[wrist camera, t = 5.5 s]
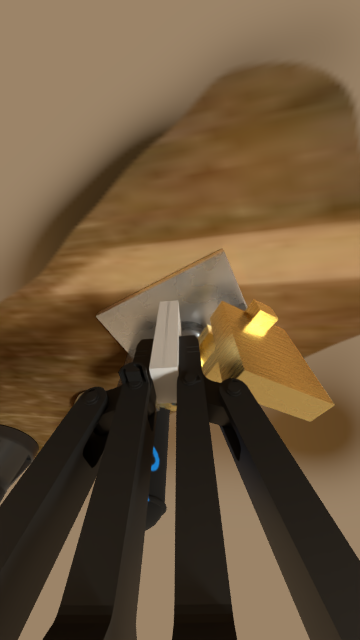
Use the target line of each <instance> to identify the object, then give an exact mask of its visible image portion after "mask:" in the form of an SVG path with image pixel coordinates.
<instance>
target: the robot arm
mask: <svg viewBox="0 0 360 640" xmlns="http://www.w3.org/2000/svg"><path fill="white" fill-rule="evenodd" d="M118 373H119V376H120V378H121V381H122V385H120V386H119V387H116V388H114V389H111V390H108V391H105V390H104V388H101V387H93V388H90V389H88V390H86V391H85V392H84V393H83V394H82V395H81V396H80V397H79V398H78V400H77V401H76V402H75V404H74V405H73V407H72V408H71V409H70V411H69V412H68V413H67V415H66V416H65V418H64V419H63V420H62V422H61V423H60V424H59V426H58V427H57V429H56V430H55V431H54V433H53V434H52V435H51V437H50V438H49V440H48V441H47V442H46V444H45V445H44V446H43V448H42V449H41V451H40V452H39V453H38V455H37V456H36V454H37V452H38V450H39V447H38V444H37V443H36V442H35V440H33V439H32V438H31V437H30V436H28V435H27V434H25V433H23V432H21V431H18V430H16V429H13V428H10V427H6V426H2V425H0V502H1V500H2V499H3V497H4V495H5V493H6V492H7V490H8V488H9V487H10V486H11V485H12V484H13V483H14V482H15V480H16V479H17V478H18V477H19V476H20V475H21V474H22V473H23V472H24V470H25V469H26V468H27V467H28V466H29V465H30V466H29V467H28V468H27V470H26V471H25V473H24V474H23V475H22V477H21V478H20V479H19V481H18V482H17V484H16V485H15V486H14V488H13V489H12V490H11V492H10V493H9V495H8V496H7V497H6V499H5V500H4V502H3V503H2V504H1V506H0V640H18V638H19V636H20V634H21V632H22V630H23V628H24V625H25V623H26V621H27V619H28V617H29V615H30V613H31V611H32V609H33V607H34V605H35V603H36V601H37V599H38V596H39V594H40V592H41V590H42V588H43V586H44V584H45V582H46V580H47V578H48V576H49V574H50V572H51V570H52V568H53V565H54V563H55V561H56V559H57V557H58V555H59V553H60V551H61V549H62V547H63V545H64V542H65V541H66V539H67V536H68V534H69V532H70V530H71V528H72V526H73V524H74V522H75V520H76V518H77V516H78V513H79V512H80V510H81V507H82V505H83V503H84V501H85V499H86V497H87V495H88V493H89V491H90V489H91V487H92V485H93V483H94V481H95V484H94V487H93V491H92V494H91V498H90V502H89V505H88V508H87V512H86V516H85V519H84V523H83V526H82V530H81V533H80V537H79V540H78V544H77V548H76V551H75V555H74V558H73V562H72V565H71V569H70V572H69V576H68V579H67V583H66V587H65V590H64V594H63V597H62V601H61V604H60V607H59V610H58V613H57V616H56V618H55V621H54V623H53V625H52V626H51V628H50V629H49V631H48V632H47V634H46V635H45V637H44V638H43V640H137V636H136V613H137V603H138V594H139V584H140V574H141V564H142V554H143V543H144V533H145V525H146V515H147V505H148V495H149V485H150V476H151V466H152V456H153V446H154V436H155V426H156V416H157V411H156V399H157V404H161V403H177V413H176V414H177V415H176V512H175V514H176V515H175V605H174V627H173V636H172V640H237V637H236V631H235V625H234V619H233V612H232V604H231V596H230V589H229V580H228V572H227V564H226V555H225V547H224V539H223V531H222V523H221V515H220V508H219V507H220V506H219V498H218V491H217V482H216V474H215V466H214V459H213V450H212V442H211V433H210V425H209V422H210V423H214V424H218V425H219V426H220V428H221V430H222V432H223V435H224V437H225V440H226V442H227V445H228V447H229V449H230V452H231V454H232V456H233V458H234V461H235V463H236V466H237V468H238V471H239V473H240V475H241V478H242V480H243V482H244V485H245V487H246V489H247V492H248V494H249V497H250V499H251V501H252V504H253V506H254V508H255V510H256V513H257V515H258V517H259V520H260V523H261V525H262V527H263V530H264V532H265V534H266V537H267V539H268V541H269V544H270V546H271V549H272V551H273V553H274V556H275V558H276V560H277V563H278V565H279V567H280V570H281V572H282V575H283V577H284V579H285V582H286V584H287V586H288V589H289V591H290V593H291V596H292V598H293V601H294V603H295V605H296V607H297V610H298V612H299V615H300V617H301V619H302V622H303V624H304V627H305V629H306V631H307V634H308V636H309V638H310V640H360V560H359V559H358V557H357V556H356V554H355V553H354V551H353V550H352V548H351V547H350V545H349V543H348V542H347V540H346V539H345V537H344V536H343V534H342V532H341V531H340V529H339V528H338V526H337V525H336V523H335V522H334V520H333V518H332V517H331V516H330V514H329V513H328V511H327V509H326V508H325V506H324V504H323V503H322V501H321V500H320V498H319V497H318V495H317V494H316V492H315V491H314V489H313V487H312V486H311V484H310V483H309V481H308V480H307V478H306V477H305V475H304V474H303V472H302V470H301V469H300V467H299V466H298V464H297V463H296V461H295V459H294V458H293V456H292V455H291V453H290V452H289V450H288V449H287V447H286V445H285V444H284V442H283V441H282V439H281V438H280V436H279V435H278V433H277V431H276V430H275V428H274V427H273V425H272V424H271V422H270V421H269V419H268V417H267V416H266V415H265V413H264V411H263V410H262V408H261V407H260V405H259V404H258V402H257V400H256V399H255V397H254V396H253V394H252V393H251V391H250V390H249V388H248V386H247V385H246V384H245V383H244V382H243V381H241V380H239V379H235V378H229V379H226V380H224V381H222V383H219V382H215V381H212V380H210V379H208V378H207V377H205V376H204V374H203V372H202V366H201V357H200V349H199V340H198V339H197V338H196V336H195V335H189V336H181V322H180V313H179V303H178V300H176V301H164V302H160V304H159V310H158V316H157V323H156V329H155V335H154V339H142V340H141V341H140V342H139V343H138V344H137V347H136V352H135V355H134V359H133V362H131V363H128V364H126V365H124V366H123V367H122V368H121V369H120V371H119V372H118ZM35 456H36V457H35ZM34 458H35V459H34ZM32 461H33V462H32ZM96 476H97V477H96ZM95 478H96V480H95Z"/></svg>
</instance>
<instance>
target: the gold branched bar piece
mask: <svg viewBox="0 0 360 640" xmlns="http://www.w3.org/2000/svg"><path fill="white" fill-rule="evenodd" d="M277 320H278V317H277V316H276V315H275V313H274V312H273V310H272V309H271V307H269V306H267V305H265V304H262V303H260V302H258V301H256V300H253V301H252V303H251V304H250V305H249V306H248V308H247V309H246V310H245V311H243V310H241V309H239V308H237V307H235V306H233V305H230V304H228V303H226V302H224V301H221V303H220V304H219V306H218V307H217V309H216V310H215V311H214V313H213V314H212V316H211V317H210V322H211V326H210V325H207V326H206V327H205V328H204V330H203V331H202V333H201V334H200V336H199V337H198V340H199V349H200V357H201V366H202V372H203V374H204V376H205V377H207V378H208V379H210V380H212V381H215V382H219V383H221V382H222V381H224V380H226V379H229V378H235V379H239V380H241V381H243V382H244V383H245V384H246V385H247V386H248V388H249V390H250V391H251V393H252V394H253V396H254V397H255V399H256V400H257V402H258V404H261V405H264V406H266V407H269V408H272V409H275V410H278V411H281V412H284V413H287V414H290V415H293V416H295V417H298V418H301V419H304V420H307V421H312V420H313V419H315V418H316V417H318V416H319V415H321V414H322V413H324V412H325V411H327V410H328V409H330V408H331V407H333V406H334V405H335V404H334V403H333V401H332V400H331V398H330V397H329V396H328V394H327V392H326V391H325V390H324V388H323V387H322V385H321V384H320V382H319V381H318V379H317V378H316V376H315V375H314V373H313V372H312V370H311V369H310V367H309V366H308V364H307V363H306V361H305V360H304V358H303V357H302V355H301V354H300V352H299V351H298V349H297V348H296V347H295V345H294V344H293V342H292V341H291V339H290V338H289V336H288V335H287V333H286V332H285V330H284V329H282V328H280V327H278V326H275V325H273V324H274V323H275V322H276V321H277ZM160 407H162V408H165V409H168V410H172V411H176V409H177V403H161V404H160Z"/></svg>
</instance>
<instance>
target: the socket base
mask: <svg viewBox="0 0 360 640" xmlns="http://www.w3.org/2000/svg"><path fill="white" fill-rule="evenodd" d="M176 300H178V303H179V313H180V322H181V336H189V335H195V336H196V338H197V339H198V337H199V336H200V334H201V333H202V331H203V330H204V328H205V327H206V326H207V325H210V326H211V322H210V317H211V316H212V314H213V313H214V311H215V310H216V309H217V307H218V306H219V304H220V303H221V301H224V302H226V303H228V304H230V305H233V306H235V307H237V308H239V309H241V310H243V311H245V310H246V309H247V305H246V303H245V300H244V298H243V295H242V293H241V291H240V288H239V286H238V283H237V281H236V279H235V276H234V274H233V271H232V269H231V267H230V264H229V262H228V259H227V257H226V254H225V252H224V250H223V248H222V249H220V250H218V251H216V252H214V253H213V254H211V255H209V256H207V257H205V258H203V259H201V260H199V261H197V262H195V263H193V264H191V265H189V266H187V267H185V268H183V269H181V270H179V271H177V272H175V273H173V274H171V275H169V276H168V277H166V278H164V279H162V280H160V281H158V282H156V283H154V284H152V285H150V286H148V287H146V288H144V289H142V290H140V291H138V292H136V293H134V294H132V295H130V296H128V297H126V298H124V299H123V300H121V301H119V302H117V303H115V304H113V305H111V306H109V307H107V308H105V309H103V310H101V311H99V312H98V314H97V315H96V317H97V318H98V320H99V321H100V322H101V323H102V324H103V325H104V326H105V327H106V329H107V330H108V331H109V332H110V333H111V334H112V335H113V336H114V338H115V339H116V340H117V341H118V342H119V343H120V344H121V345H122V347H123V348H124V349H125V350H126V351H127V352H128V354H127V357H126V360H125V364H124V365H126V364H128V363H131V362H133V359H134V355H135V352H136V347H137V344H138V343H139V342H140V341H141V340H142V339H154V335H155V329H156V323H157V316H158V310H159V304H160V302H164V301H176ZM120 385H122V381H121V378H120V380H119V383H118V386H117V387H119V386H120ZM159 410H160V404H157V399H156V411H159Z"/></svg>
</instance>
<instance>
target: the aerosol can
mask: <svg viewBox="0 0 360 640" xmlns="http://www.w3.org/2000/svg"><path fill="white" fill-rule="evenodd" d="M169 413H170V410H168V409H165V408H162V407H160V410H159V411H157V416H156V426H155V436H154V446H153V456H152V466H151V476H150V485H149V495H148V505H147V515H146V525H145V530H148V529H149V528H151V527H152V526H154V525H155V524H156V523H157V521H158V520H159V519H160V518H161V516H162V515H163V514H164V513H165V512H166V504H165V486H166V468H167V450H168V449H167V448H168V431H169Z"/></svg>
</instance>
